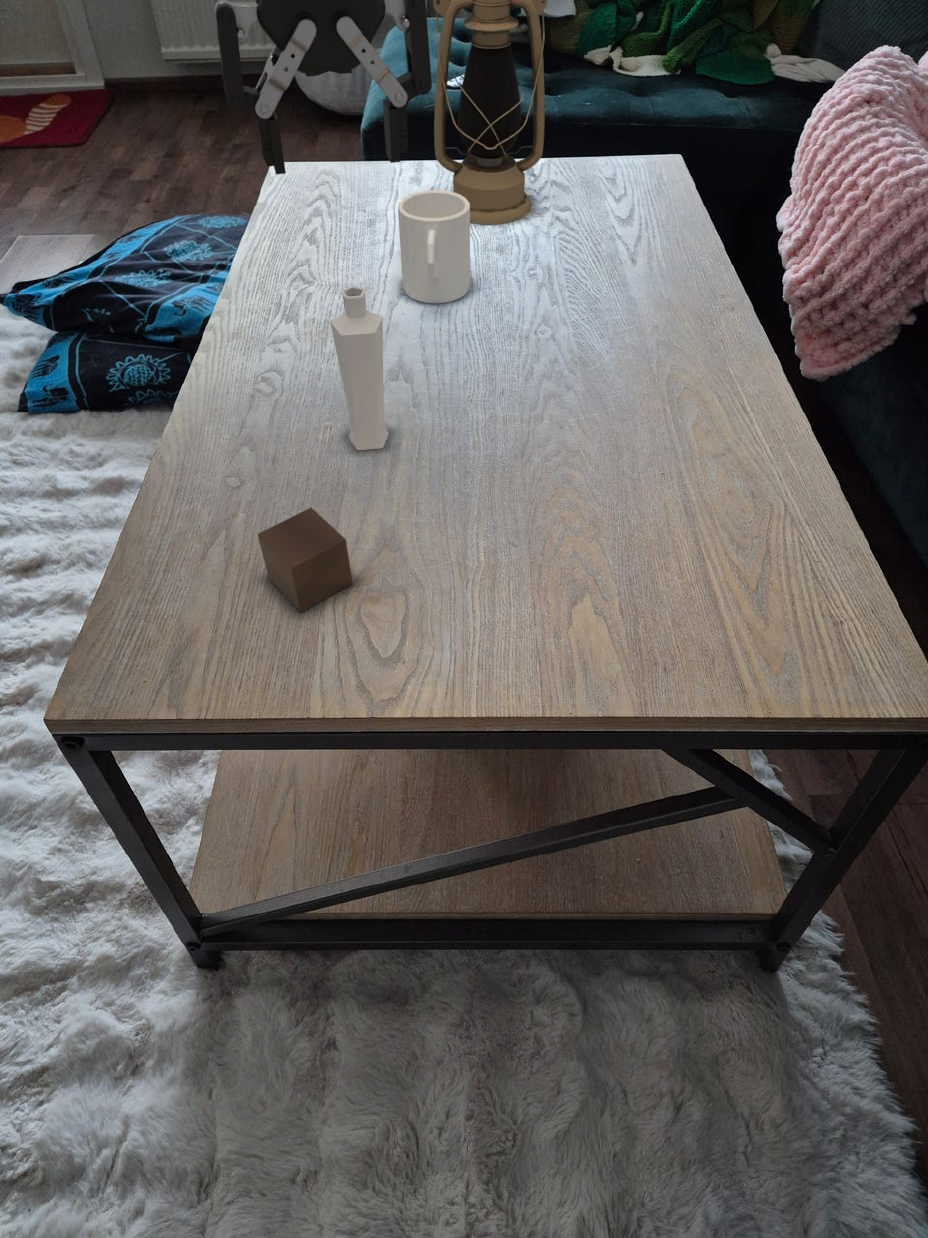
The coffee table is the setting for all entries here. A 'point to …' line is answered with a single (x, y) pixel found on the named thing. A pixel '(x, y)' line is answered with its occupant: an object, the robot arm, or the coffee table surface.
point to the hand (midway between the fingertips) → (336, 164)
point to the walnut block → (306, 559)
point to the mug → (435, 245)
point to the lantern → (490, 107)
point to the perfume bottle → (361, 368)
